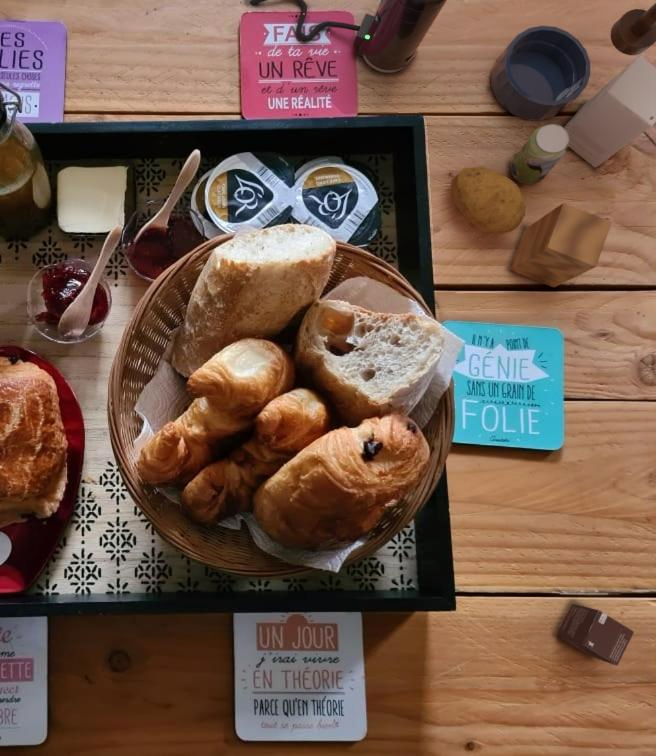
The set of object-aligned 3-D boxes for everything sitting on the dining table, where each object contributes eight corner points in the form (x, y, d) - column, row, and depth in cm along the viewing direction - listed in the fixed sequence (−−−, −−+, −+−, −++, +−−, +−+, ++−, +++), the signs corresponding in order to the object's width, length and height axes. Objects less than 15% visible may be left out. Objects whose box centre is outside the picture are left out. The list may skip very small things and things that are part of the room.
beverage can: (543, 187, 128) (584, 157, 116) (501, 186, 128) (537, 156, 116) (541, 153, 129) (581, 120, 117) (500, 152, 129) (535, 119, 117)
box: (588, 656, 117) (617, 667, 109) (554, 635, 117) (581, 645, 110) (605, 622, 117) (635, 631, 110) (572, 602, 118) (600, 609, 111)
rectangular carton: (625, 134, 130) (687, 89, 115) (594, 169, 129) (652, 128, 114) (585, 101, 131) (641, 52, 116) (554, 136, 130) (606, 91, 115)
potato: (498, 140, 120) (458, 171, 118) (551, 203, 119) (511, 235, 117) (467, 165, 129) (429, 195, 127) (516, 224, 128) (478, 254, 126)
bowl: (477, 104, 130) (493, 85, 124) (504, 34, 132) (521, 13, 126) (555, 134, 130) (575, 117, 124) (581, 64, 132) (601, 44, 126)
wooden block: (509, 269, 126) (547, 247, 114) (524, 228, 127) (563, 202, 115) (553, 287, 126) (596, 267, 114) (568, 246, 127) (612, 221, 115)
